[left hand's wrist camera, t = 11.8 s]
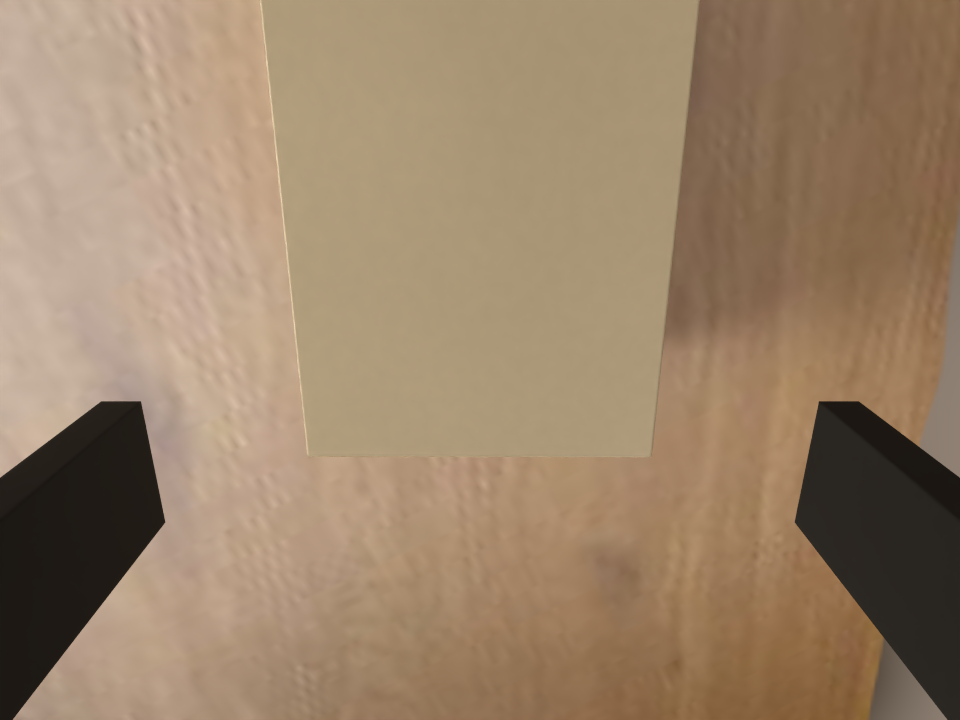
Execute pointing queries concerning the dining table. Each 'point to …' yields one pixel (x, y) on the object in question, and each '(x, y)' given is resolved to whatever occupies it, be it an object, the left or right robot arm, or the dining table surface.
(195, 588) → the dining table surface
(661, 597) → the dining table surface
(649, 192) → the cabinet
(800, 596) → the dining table surface
